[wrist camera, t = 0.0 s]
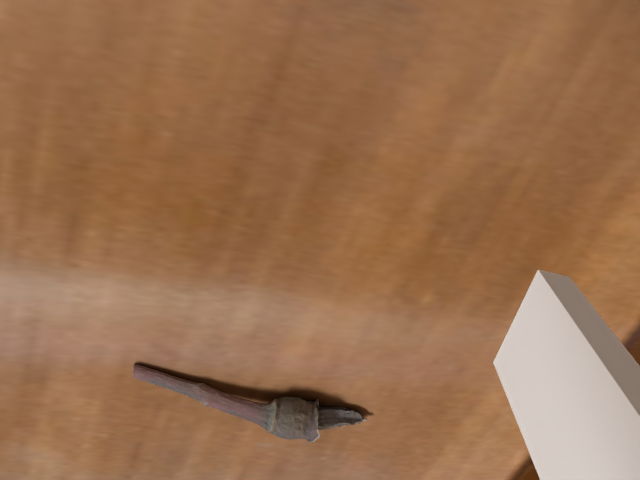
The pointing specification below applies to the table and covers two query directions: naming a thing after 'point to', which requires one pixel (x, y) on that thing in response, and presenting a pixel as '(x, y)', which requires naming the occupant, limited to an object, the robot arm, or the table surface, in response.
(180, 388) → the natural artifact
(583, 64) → the table surface
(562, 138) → the table surface
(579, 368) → the robot arm
